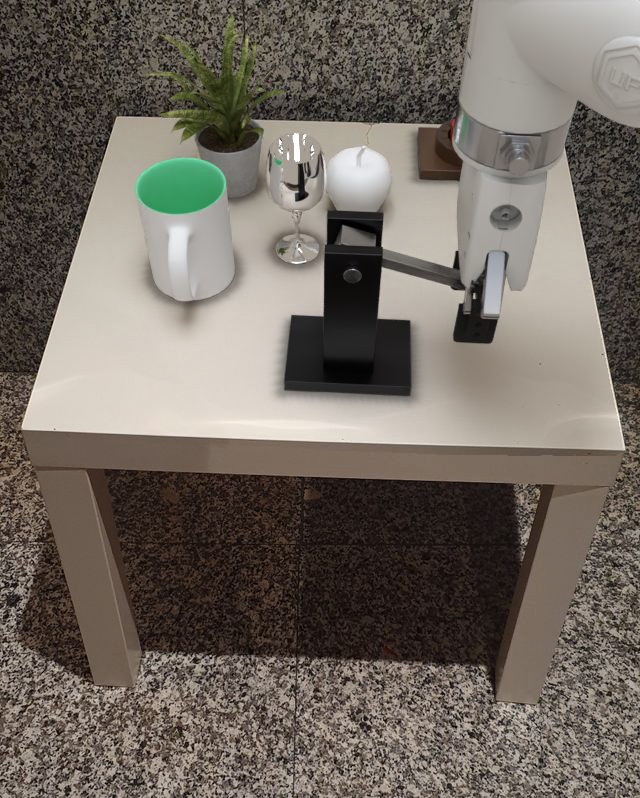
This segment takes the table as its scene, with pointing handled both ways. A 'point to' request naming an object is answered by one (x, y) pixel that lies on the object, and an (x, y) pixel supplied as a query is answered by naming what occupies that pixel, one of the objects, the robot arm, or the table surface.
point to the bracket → (350, 323)
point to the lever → (405, 261)
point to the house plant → (222, 115)
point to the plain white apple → (358, 180)
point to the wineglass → (296, 189)
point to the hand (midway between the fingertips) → (470, 312)
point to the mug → (186, 227)
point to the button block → (438, 153)
